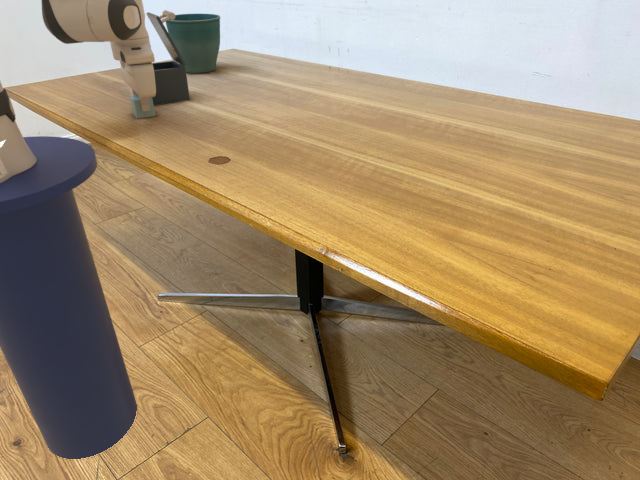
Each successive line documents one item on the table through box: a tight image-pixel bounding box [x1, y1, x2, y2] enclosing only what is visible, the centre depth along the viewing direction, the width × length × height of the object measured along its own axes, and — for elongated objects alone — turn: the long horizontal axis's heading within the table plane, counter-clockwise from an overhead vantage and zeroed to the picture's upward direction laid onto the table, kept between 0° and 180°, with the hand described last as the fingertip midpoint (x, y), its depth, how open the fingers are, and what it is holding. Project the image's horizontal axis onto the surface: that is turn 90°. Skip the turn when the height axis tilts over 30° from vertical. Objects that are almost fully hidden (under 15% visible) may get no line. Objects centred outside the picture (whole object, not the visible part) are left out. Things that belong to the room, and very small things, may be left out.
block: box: [129, 95, 156, 119], centre depth 122 cm, size 4×4×4 cm
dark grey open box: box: [151, 60, 191, 106], centre depth 134 cm, size 13×11×9 cm
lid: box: [145, 10, 186, 66], centre depth 130 cm, size 13×11×5 cm
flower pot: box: [165, 13, 221, 74], centre depth 164 cm, size 18×18×17 cm
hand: (143, 107), depth 122 cm, fingers closed on block, 4 cm apart
